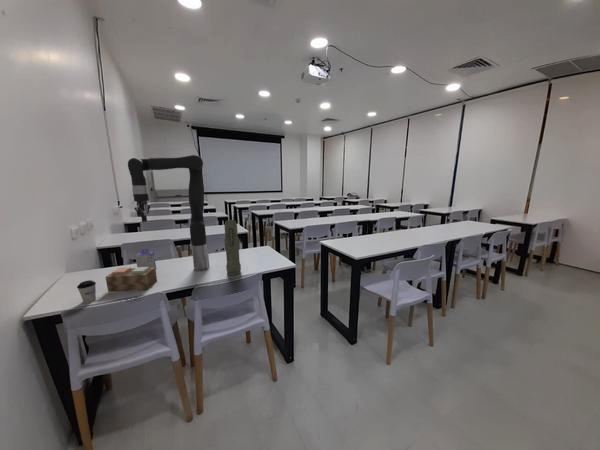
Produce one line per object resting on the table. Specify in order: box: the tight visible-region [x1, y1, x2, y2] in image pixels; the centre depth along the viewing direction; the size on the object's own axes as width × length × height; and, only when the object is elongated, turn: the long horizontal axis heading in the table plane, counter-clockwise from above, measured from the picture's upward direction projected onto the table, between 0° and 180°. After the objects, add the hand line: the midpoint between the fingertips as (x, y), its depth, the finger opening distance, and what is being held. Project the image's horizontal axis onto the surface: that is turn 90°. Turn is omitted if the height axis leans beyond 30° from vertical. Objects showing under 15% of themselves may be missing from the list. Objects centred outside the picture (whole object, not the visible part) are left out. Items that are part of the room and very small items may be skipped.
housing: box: [105, 267, 158, 293], centre depth 129 cm, size 20×11×9 cm, turn 96°
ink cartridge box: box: [135, 248, 157, 269], centre depth 151 cm, size 10×6×14 cm, turn 116°
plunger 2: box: [132, 267, 150, 274], centre depth 129 cm, size 6×6×10 cm
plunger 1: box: [111, 267, 132, 275], centre depth 128 cm, size 6×6×10 cm
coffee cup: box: [76, 279, 97, 304], centre depth 114 cm, size 7×7×10 cm
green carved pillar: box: [223, 219, 242, 277], centre depth 144 cm, size 9×12×35 cm
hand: (144, 221), depth 139 cm, fingers closed
